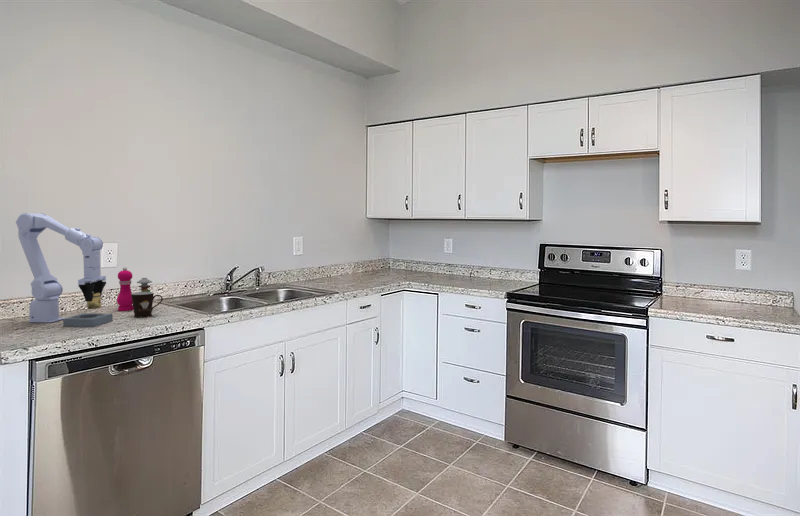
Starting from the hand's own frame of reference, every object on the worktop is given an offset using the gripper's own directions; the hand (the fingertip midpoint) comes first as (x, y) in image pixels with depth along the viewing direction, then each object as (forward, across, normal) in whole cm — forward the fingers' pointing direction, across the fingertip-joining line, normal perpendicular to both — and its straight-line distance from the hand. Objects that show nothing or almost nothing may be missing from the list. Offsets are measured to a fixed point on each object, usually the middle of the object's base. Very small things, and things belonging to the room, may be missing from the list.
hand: (93, 300), depth 197 cm
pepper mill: (+9, +27, +3) cm, 29 cm away
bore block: (+9, -3, 0) cm, 9 cm away
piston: (+3, 0, 0) cm, 3 cm away
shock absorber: (+9, +27, -6) cm, 29 cm away
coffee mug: (+9, +14, -14) cm, 22 cm away
